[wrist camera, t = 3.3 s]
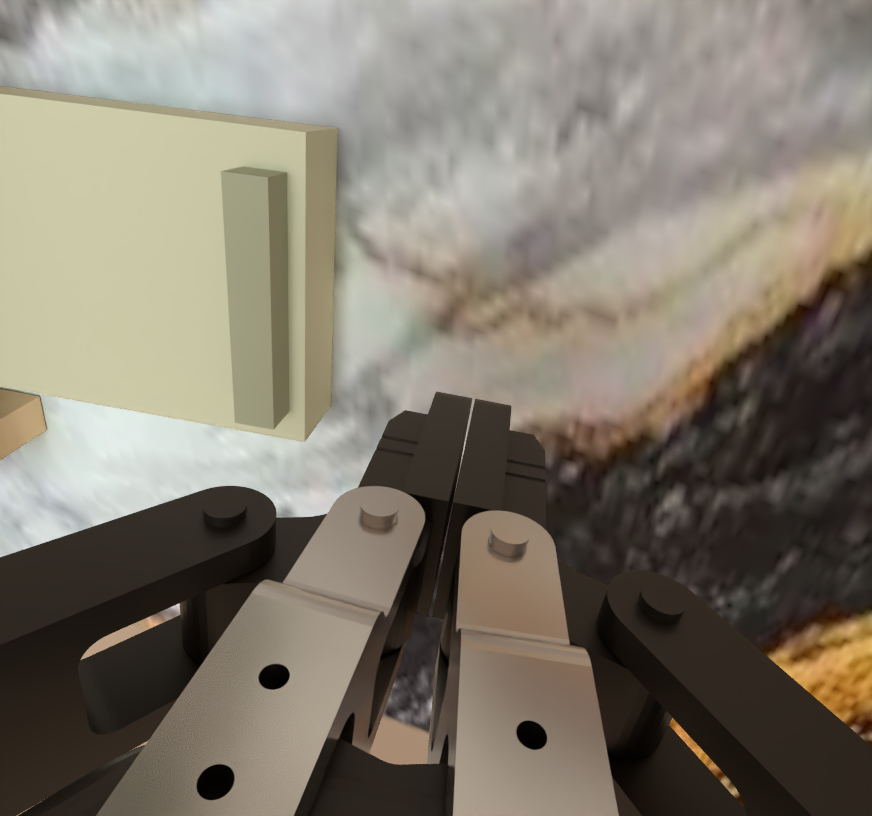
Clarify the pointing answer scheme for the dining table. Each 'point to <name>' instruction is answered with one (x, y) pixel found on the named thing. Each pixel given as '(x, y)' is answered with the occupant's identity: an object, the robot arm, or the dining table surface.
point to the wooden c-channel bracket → (19, 420)
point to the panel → (167, 260)
